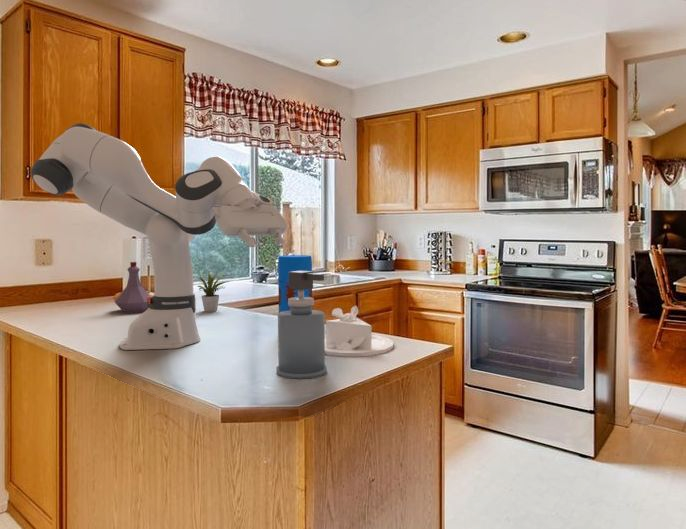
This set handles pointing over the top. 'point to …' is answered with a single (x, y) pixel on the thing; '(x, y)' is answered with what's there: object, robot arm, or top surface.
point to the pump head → (303, 281)
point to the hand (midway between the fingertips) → (268, 245)
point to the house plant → (210, 293)
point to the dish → (353, 336)
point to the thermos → (284, 267)
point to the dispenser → (301, 340)
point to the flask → (133, 293)
